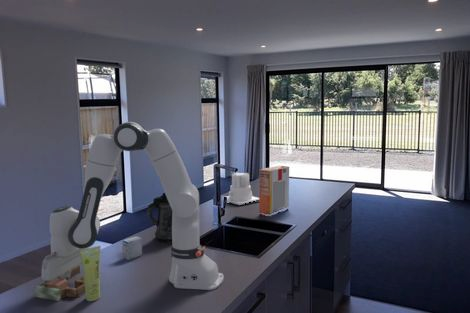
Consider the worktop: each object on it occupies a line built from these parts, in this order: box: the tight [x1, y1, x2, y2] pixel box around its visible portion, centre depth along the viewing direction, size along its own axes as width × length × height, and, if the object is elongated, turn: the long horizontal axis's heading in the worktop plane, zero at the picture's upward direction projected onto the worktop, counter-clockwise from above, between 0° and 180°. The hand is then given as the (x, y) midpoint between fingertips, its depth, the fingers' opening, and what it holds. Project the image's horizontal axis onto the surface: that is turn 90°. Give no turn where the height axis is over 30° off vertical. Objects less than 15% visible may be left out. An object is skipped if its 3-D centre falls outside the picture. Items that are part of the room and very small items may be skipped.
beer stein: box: [146, 192, 172, 245], centre depth 206 cm, size 16×19×25 cm
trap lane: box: [34, 264, 86, 302], centre depth 154 cm, size 21×23×4 cm
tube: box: [80, 245, 101, 302], centre depth 142 cm, size 6×5×20 cm
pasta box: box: [258, 165, 290, 215], centre depth 259 cm, size 23×8×30 cm, turn 140°
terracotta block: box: [47, 278, 69, 289], centre depth 149 cm, size 5×5×4 cm
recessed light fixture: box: [225, 172, 260, 206], centre depth 290 cm, size 25×22×21 cm
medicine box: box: [122, 236, 143, 261], centre depth 183 cm, size 8×4×9 cm, turn 141°
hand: (65, 282), depth 152 cm, fingers closed
